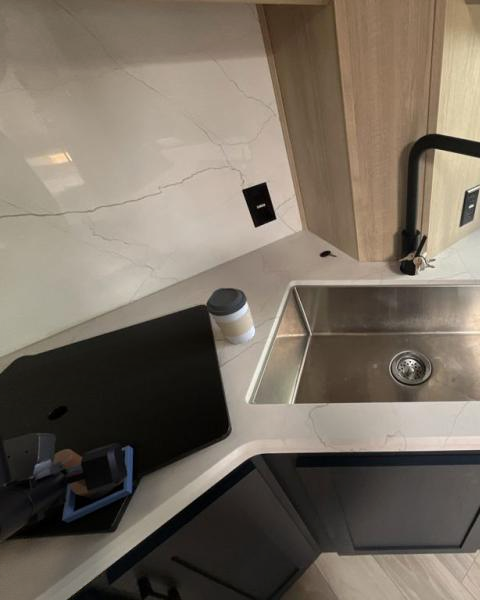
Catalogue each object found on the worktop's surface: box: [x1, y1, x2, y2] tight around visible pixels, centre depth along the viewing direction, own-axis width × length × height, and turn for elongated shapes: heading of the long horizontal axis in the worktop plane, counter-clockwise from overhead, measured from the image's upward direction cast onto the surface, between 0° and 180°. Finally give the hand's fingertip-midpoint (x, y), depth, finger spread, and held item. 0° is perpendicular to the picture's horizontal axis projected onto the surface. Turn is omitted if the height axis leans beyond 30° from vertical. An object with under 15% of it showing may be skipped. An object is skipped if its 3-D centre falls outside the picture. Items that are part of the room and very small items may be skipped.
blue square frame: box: [61, 445, 134, 524], centre depth 59 cm, size 9×9×2 cm
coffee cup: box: [205, 287, 256, 345], centre depth 83 cm, size 9×9×15 cm
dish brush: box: [53, 448, 116, 500], centre depth 56 cm, size 6×6×12 cm
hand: (84, 462), depth 56 cm, fingers open, 8 cm apart
